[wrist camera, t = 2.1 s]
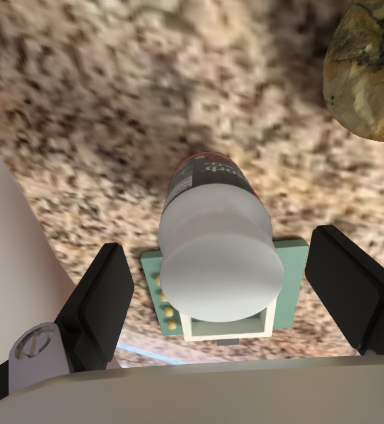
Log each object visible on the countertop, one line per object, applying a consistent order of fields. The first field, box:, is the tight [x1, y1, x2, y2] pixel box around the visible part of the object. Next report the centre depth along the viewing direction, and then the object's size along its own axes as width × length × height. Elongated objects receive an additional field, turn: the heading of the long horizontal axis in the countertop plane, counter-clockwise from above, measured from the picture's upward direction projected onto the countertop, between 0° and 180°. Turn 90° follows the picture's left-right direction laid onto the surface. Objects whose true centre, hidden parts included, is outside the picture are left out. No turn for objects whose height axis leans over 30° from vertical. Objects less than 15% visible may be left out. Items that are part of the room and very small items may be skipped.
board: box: [141, 239, 309, 346], centre depth 21 cm, size 12×15×3 cm
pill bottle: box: [158, 152, 284, 322], centre depth 12 cm, size 6×6×10 cm
